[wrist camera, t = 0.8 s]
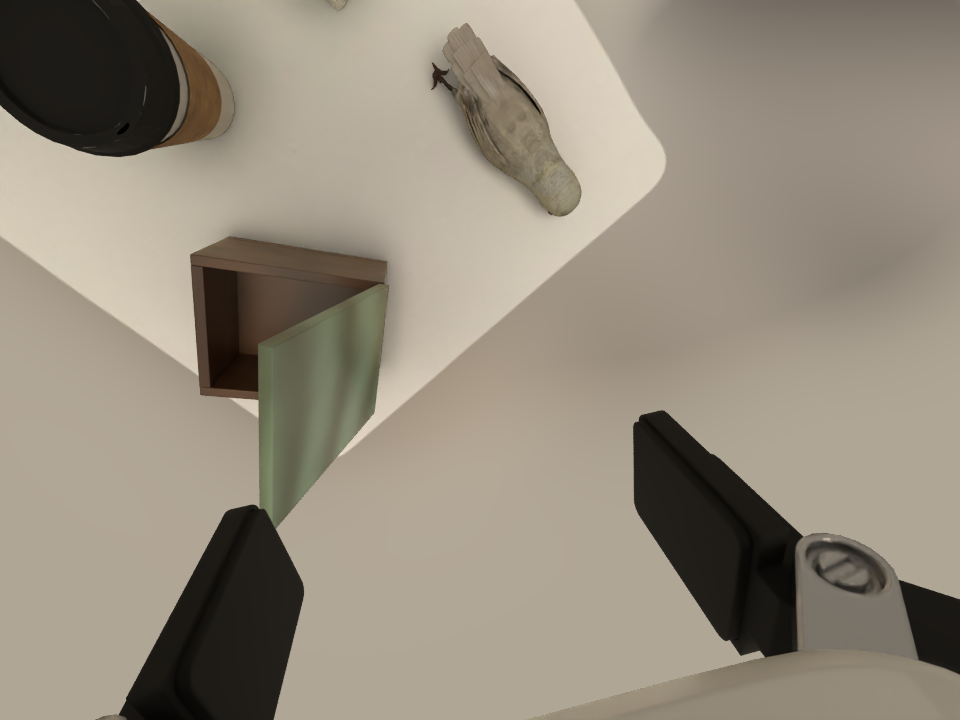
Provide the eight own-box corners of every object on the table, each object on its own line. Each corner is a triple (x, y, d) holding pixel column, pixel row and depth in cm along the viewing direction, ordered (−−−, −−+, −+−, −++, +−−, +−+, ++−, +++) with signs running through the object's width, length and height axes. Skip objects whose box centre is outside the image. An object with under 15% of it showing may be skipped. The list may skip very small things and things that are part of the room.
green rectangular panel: (259, 529, 24) (272, 533, 24) (257, 343, 20) (273, 347, 20) (366, 410, 38) (374, 413, 38) (379, 283, 33) (389, 285, 33)
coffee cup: (200, 179, 35) (76, 193, 22) (102, 78, 31) (-119, 19, 18) (276, 113, 34) (195, 85, 21) (184, 0, 30) (14, -123, 17)
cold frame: (233, 356, 42) (199, 395, 35) (229, 236, 37) (189, 254, 30) (375, 370, 45) (370, 409, 38) (387, 261, 40) (384, 282, 33)
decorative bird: (539, 228, 41) (565, 241, 35) (418, 82, 35) (422, 64, 28) (582, 186, 40) (617, 191, 34) (465, 28, 34) (481, -4, 27)
